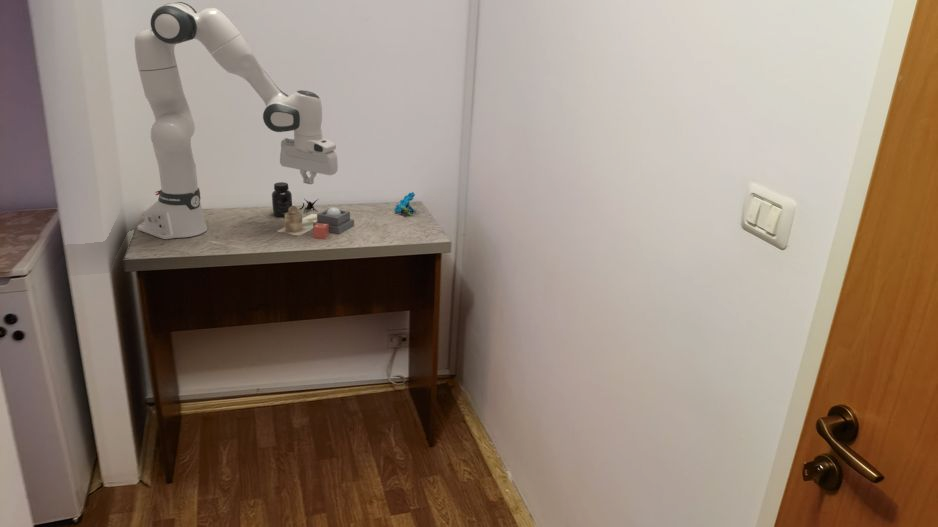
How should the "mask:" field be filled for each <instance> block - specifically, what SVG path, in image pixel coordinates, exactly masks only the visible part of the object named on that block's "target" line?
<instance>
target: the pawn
mask: <svg viewBox="0 0 938 527" xmlns="http://www.w3.org/2000/svg"><path fill="white" fill-rule="evenodd" d="M288 211H289V212H288V213H286V214H285V217H284V227H285V231H288V232H293V233H297V232H299V231H301V230H302V218H303V212H299V209H298V208H297V207H296V206H295V205H292V206H291V207H290V208H289V210H288Z"/></svg>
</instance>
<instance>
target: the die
mask: <svg viewBox="0 0 938 527" xmlns="http://www.w3.org/2000/svg"><path fill="white" fill-rule="evenodd" d="M312 232H313V234H312V235H313V239H321V240H326V239H327V238H328V237H329V235H330V233H329V224H322V223H316V225H315V226H314V227H313V229H312Z"/></svg>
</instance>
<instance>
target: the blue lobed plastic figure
mask: <svg viewBox="0 0 938 527" xmlns="http://www.w3.org/2000/svg"><path fill="white" fill-rule="evenodd" d="M415 196H416V194H415V193H414V191H411V192H408V193H407V194H406V195H404V197H403V199H400V200H399V203H397V204H396V206H395V208H394V212H395V213H396V214H397V213H400V212H401V211H402V210H403V212H404V213H407V214H408V215H409V216H410V217H411V216H412V215H413V213H414V212H415V209H414V208H413V207H412V206H411V203H410V202H411V201H413V200H414V197H415ZM409 210H410V211H411V212H410V211H409Z"/></svg>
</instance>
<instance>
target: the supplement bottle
mask: <svg viewBox="0 0 938 527" xmlns="http://www.w3.org/2000/svg"><path fill="white" fill-rule="evenodd" d="M273 190H274V191H272V193H271V202H272V215H273V216H274V217H276V218H285V214H286V213H288V212H289V211H288V210H289V208H290V207H291V206H293V197H292V196H293V195H292V192H291V191H290V190H289V184H288V182H284V181H282V182H280V181H279V182H276V183H274V184H273Z"/></svg>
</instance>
